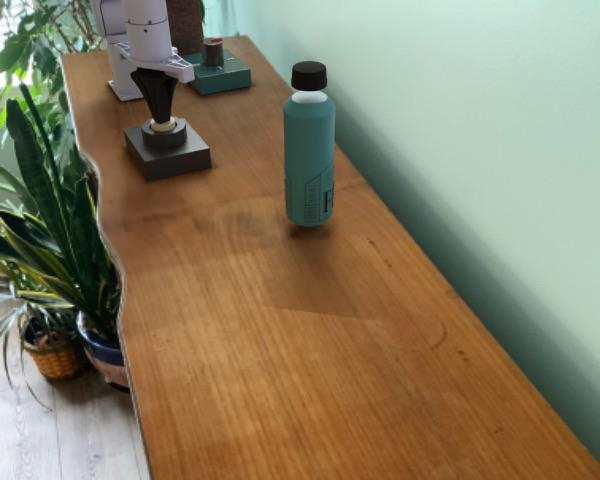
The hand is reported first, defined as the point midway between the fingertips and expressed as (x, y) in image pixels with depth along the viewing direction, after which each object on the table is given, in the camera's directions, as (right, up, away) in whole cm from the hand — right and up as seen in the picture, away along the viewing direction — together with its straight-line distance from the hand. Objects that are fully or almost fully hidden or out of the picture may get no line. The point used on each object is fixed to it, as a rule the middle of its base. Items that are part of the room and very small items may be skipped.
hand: (162, 121), depth 93 cm
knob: (+4, +22, +24) cm, 33 cm away
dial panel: (+4, +20, +26) cm, 33 cm away
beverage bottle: (+22, -18, -9) cm, 30 cm away
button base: (0, -4, +4) cm, 6 cm away
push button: (0, -1, +1) cm, 2 cm away
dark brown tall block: (-2, +28, +34) cm, 44 cm away
